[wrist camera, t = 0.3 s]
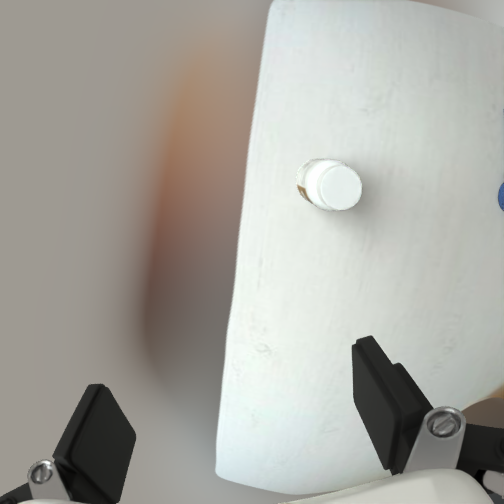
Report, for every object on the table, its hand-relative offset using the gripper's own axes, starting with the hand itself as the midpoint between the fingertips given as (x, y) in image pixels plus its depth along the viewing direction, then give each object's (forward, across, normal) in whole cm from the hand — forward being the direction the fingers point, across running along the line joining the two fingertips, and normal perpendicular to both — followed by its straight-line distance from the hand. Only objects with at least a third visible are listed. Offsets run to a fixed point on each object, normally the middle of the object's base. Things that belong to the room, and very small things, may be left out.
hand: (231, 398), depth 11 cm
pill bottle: (+22, -9, -4) cm, 24 cm away
